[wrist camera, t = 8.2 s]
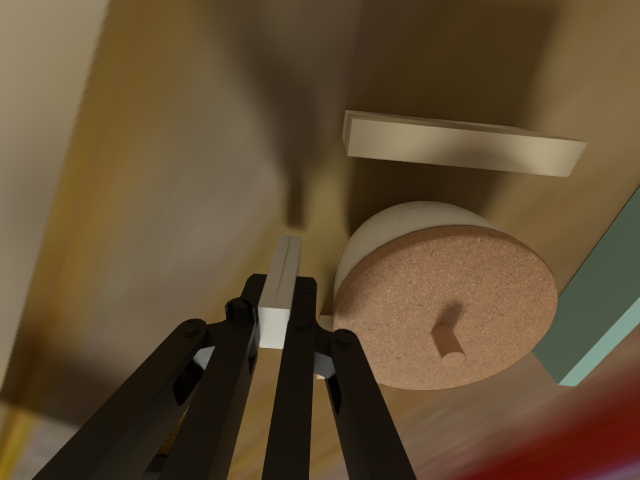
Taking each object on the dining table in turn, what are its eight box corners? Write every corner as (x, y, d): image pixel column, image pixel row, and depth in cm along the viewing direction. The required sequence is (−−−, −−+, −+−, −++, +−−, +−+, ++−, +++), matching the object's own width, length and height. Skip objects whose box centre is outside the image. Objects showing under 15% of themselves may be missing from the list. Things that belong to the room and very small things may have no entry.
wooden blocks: (318, 326, 24) (316, 378, 20) (345, 109, 15) (352, 118, 11) (425, 335, 24) (446, 388, 20) (514, 126, 15) (588, 142, 11)
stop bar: (525, 343, 25) (557, 384, 21) (671, 142, 16) (769, 158, 12) (541, 344, 25) (575, 386, 21) (695, 144, 16) (800, 161, 12)
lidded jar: (300, 237, 19) (282, 344, 11) (434, 141, 16) (545, 197, 8) (379, 318, 24) (407, 440, 15) (500, 256, 20) (618, 373, 12)
